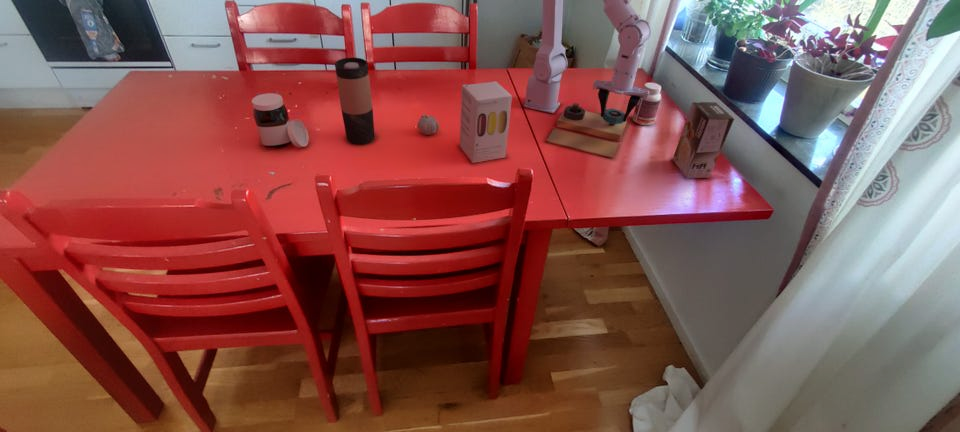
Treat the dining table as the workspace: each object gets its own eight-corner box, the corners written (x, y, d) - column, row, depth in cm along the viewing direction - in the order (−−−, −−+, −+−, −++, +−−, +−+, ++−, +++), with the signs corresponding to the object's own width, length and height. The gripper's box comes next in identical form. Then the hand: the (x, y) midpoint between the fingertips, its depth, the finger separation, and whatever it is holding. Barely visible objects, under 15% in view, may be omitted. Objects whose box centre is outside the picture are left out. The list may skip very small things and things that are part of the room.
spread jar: (260, 135, 119) (248, 92, 112) (306, 128, 123) (297, 87, 116) (263, 158, 111) (250, 114, 103) (312, 150, 114) (303, 107, 107)
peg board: (556, 126, 131) (559, 108, 127) (565, 112, 138) (568, 95, 135) (619, 141, 126) (624, 123, 122) (625, 126, 133) (630, 109, 130)
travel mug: (380, 134, 122) (373, 60, 110) (366, 148, 117) (356, 71, 104) (355, 128, 124) (345, 55, 112) (340, 141, 118) (327, 65, 106)
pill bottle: (657, 123, 136) (669, 87, 129) (643, 127, 133) (654, 91, 126) (641, 114, 140) (651, 79, 133) (627, 119, 137) (637, 83, 130)
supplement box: (472, 164, 113) (475, 100, 103) (458, 146, 120) (459, 84, 109) (506, 157, 116) (513, 95, 106) (491, 140, 123) (496, 79, 112)
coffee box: (710, 178, 113) (736, 119, 103) (685, 178, 113) (709, 119, 103) (694, 158, 121) (716, 101, 110) (670, 158, 120) (691, 101, 110)
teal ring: (601, 121, 127) (602, 115, 126) (605, 113, 131) (606, 107, 130) (621, 125, 125) (622, 119, 124) (624, 117, 129) (626, 111, 128)
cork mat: (545, 141, 124) (545, 140, 123) (554, 129, 129) (554, 128, 129) (612, 158, 119) (612, 157, 118) (617, 144, 124) (618, 143, 124)
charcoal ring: (561, 117, 131) (562, 111, 130) (567, 109, 135) (568, 104, 134) (580, 122, 129) (582, 116, 128) (585, 114, 134) (586, 108, 132)
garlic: (413, 134, 123) (412, 117, 120) (422, 126, 127) (421, 108, 124) (433, 139, 122) (433, 121, 118) (442, 130, 126) (442, 113, 122)
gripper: (594, 69, 119) (584, 117, 127) (651, 81, 114) (637, 130, 123) (600, 61, 124) (590, 107, 132) (655, 72, 119) (641, 119, 128)
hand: (613, 117), depth 128 cm, fingers closed on teal ring, 5 cm apart
